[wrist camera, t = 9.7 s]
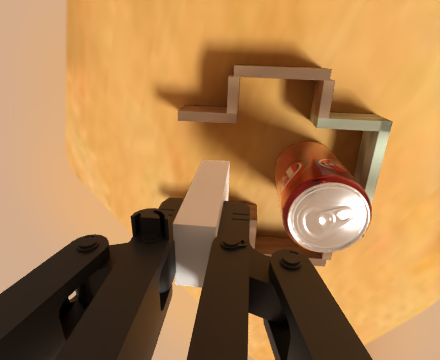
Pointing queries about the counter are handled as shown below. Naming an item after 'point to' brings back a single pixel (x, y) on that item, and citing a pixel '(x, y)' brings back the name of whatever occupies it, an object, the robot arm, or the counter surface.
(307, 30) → the counter surface
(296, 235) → the soda can
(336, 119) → the trap box
